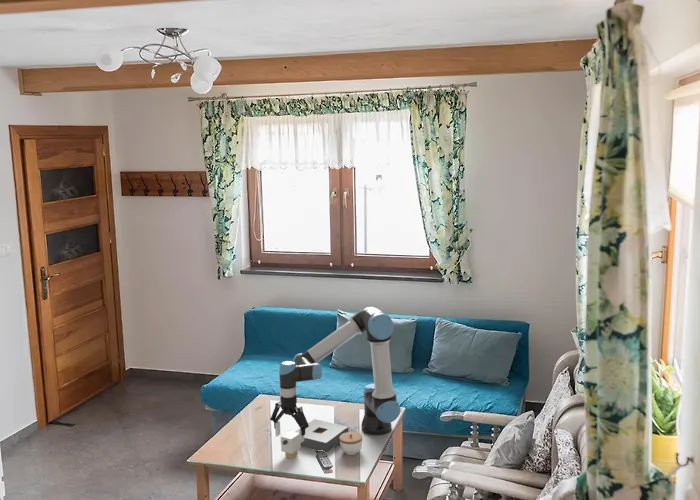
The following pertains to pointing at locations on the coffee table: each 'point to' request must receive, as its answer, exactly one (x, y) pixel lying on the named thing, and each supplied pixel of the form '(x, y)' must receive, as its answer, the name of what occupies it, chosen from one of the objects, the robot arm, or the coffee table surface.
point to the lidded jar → (350, 442)
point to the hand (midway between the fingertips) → (289, 438)
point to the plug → (290, 444)
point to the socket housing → (322, 435)
